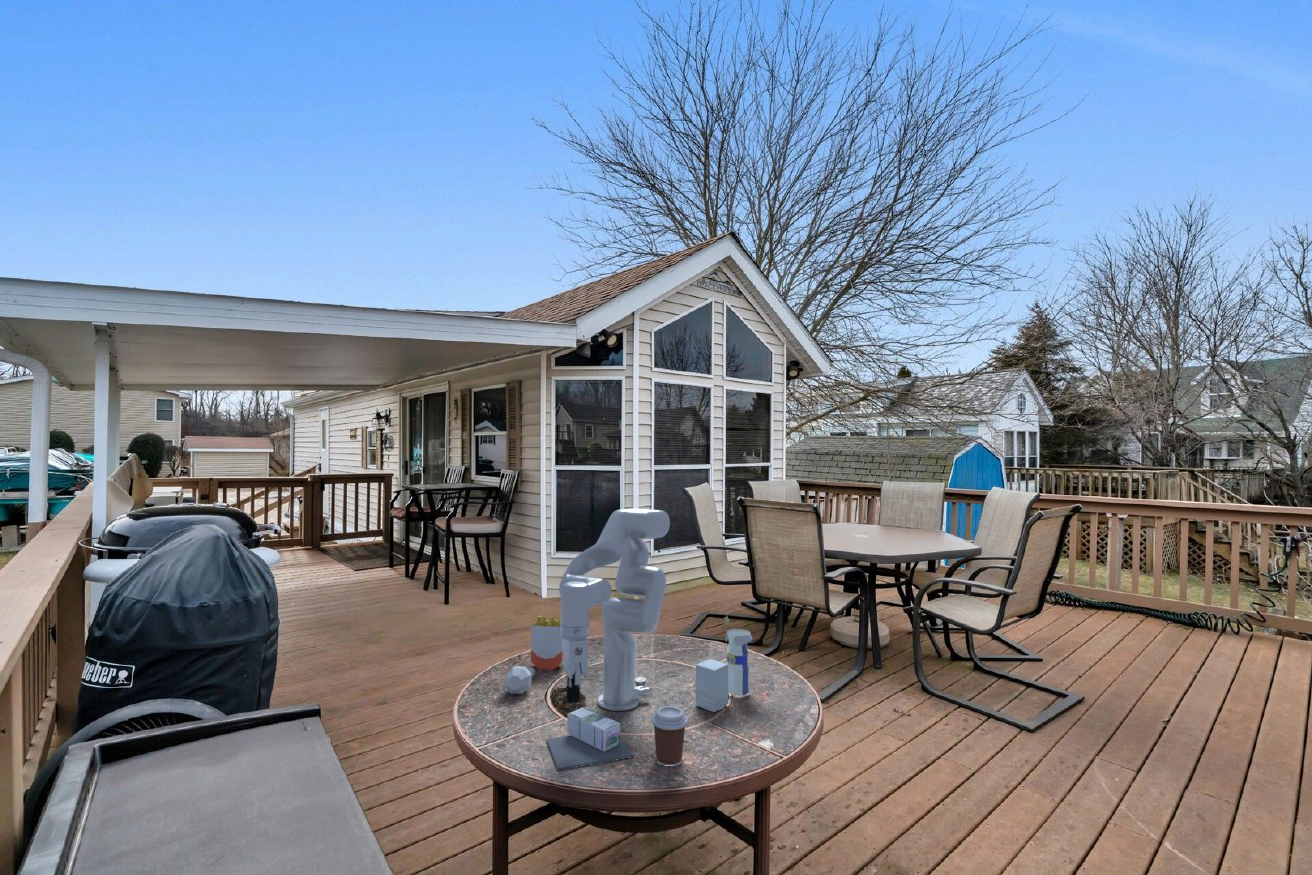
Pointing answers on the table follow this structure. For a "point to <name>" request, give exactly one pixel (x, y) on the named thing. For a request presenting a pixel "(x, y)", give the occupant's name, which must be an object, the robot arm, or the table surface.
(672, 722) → the coffee cup
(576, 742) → the rubber mat
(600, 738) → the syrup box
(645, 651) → the table surface
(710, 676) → the supplement box
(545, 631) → the french fries container
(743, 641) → the spray bottle
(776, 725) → the table surface
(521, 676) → the chicken leg
